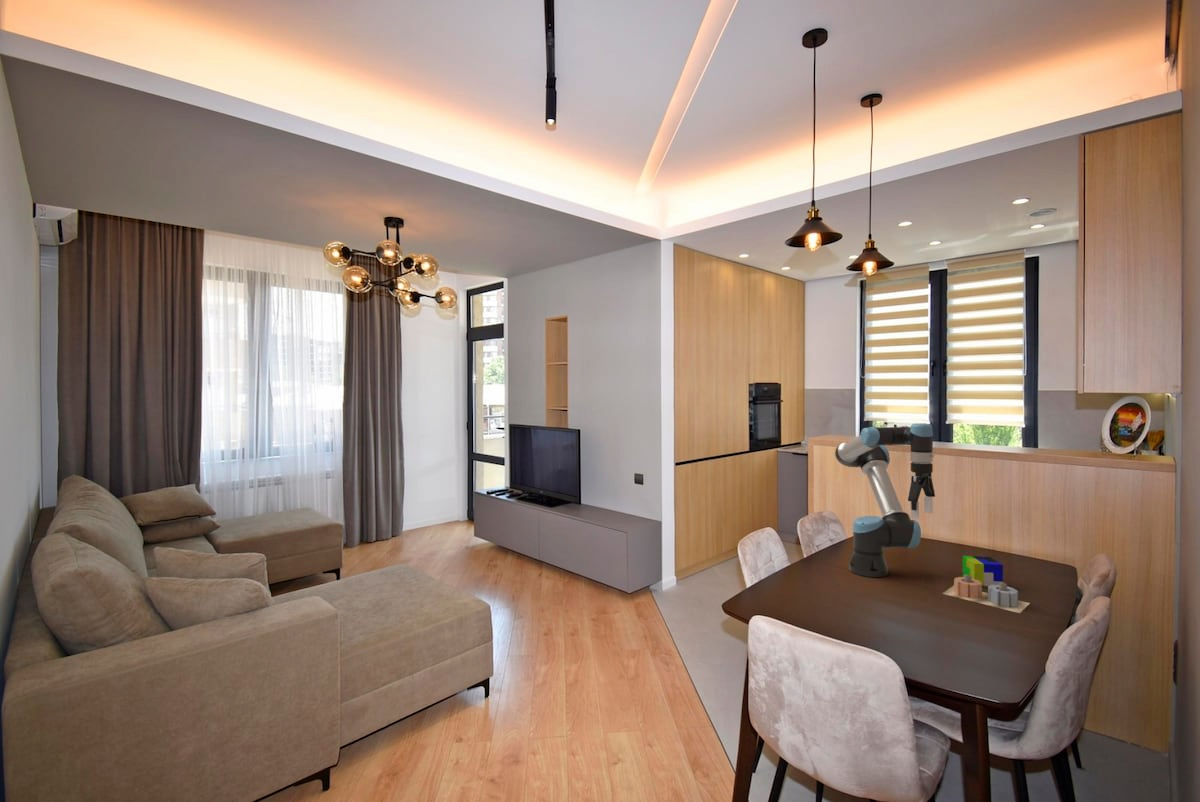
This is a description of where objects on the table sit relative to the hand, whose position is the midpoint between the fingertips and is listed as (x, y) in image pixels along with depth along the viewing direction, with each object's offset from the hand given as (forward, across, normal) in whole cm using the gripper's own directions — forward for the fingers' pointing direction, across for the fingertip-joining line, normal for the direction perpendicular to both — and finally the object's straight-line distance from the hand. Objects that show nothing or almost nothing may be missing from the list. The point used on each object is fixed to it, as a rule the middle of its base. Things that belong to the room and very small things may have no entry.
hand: (921, 515), depth 215 cm
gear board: (+29, +1, -21) cm, 36 cm away
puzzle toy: (+29, +20, -15) cm, 38 cm away
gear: (+28, +1, -26) cm, 38 cm away
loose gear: (+28, +1, -16) cm, 32 cm away
